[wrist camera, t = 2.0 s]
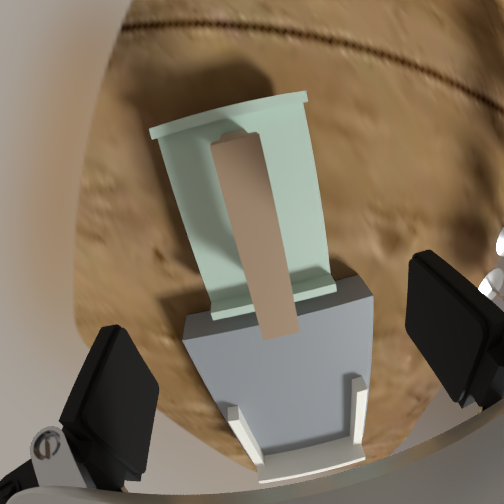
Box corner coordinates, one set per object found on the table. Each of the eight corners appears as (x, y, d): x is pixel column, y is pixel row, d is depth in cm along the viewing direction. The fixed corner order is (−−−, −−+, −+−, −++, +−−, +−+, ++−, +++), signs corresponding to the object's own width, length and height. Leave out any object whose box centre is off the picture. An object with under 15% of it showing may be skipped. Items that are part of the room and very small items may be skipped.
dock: (186, 315, 23) (176, 376, 18) (358, 274, 23) (393, 325, 17) (249, 441, 33) (253, 484, 27) (356, 416, 33) (371, 457, 27)
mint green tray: (164, 125, 17) (119, 135, 10) (290, 95, 17) (334, 83, 9) (215, 286, 22) (210, 370, 15) (320, 261, 22) (360, 335, 15)
